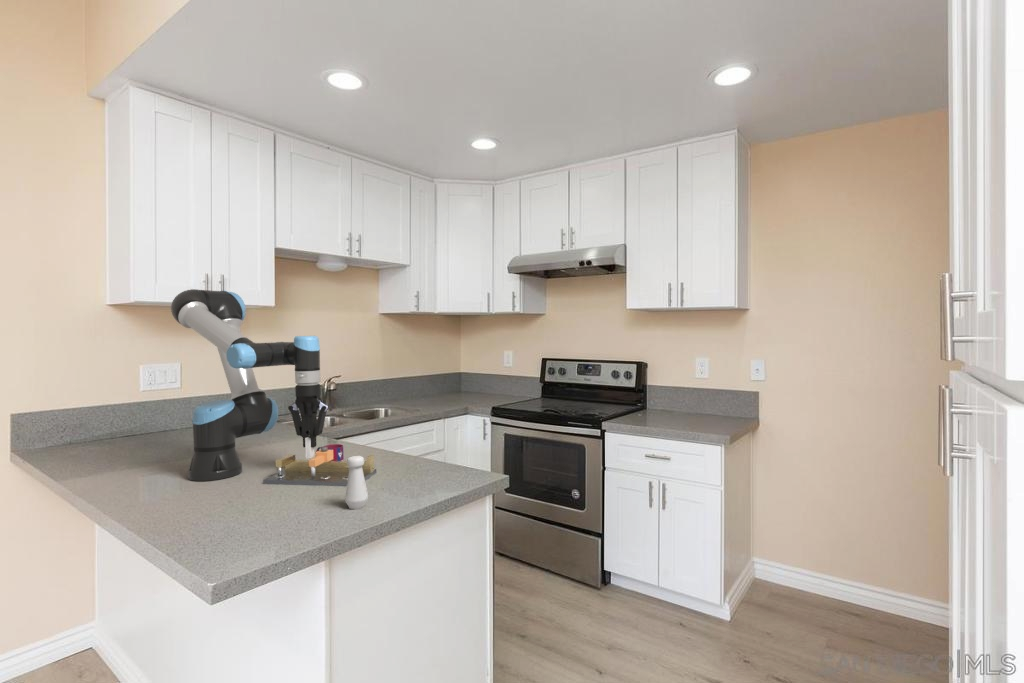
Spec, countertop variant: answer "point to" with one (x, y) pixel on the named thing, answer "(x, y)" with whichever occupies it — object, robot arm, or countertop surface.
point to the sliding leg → (320, 458)
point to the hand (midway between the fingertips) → (310, 457)
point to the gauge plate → (312, 478)
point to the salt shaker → (356, 483)
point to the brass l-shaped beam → (324, 467)
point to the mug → (335, 451)
